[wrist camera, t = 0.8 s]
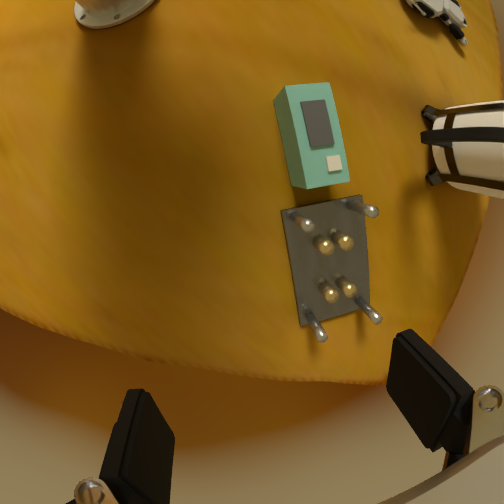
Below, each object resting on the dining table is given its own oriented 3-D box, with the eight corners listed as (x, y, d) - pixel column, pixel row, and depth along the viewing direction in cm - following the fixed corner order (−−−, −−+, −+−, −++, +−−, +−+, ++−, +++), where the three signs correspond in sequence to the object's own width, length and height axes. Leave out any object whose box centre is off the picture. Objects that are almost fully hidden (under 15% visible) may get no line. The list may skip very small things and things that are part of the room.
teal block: (272, 100, 28) (285, 85, 22) (310, 96, 28) (330, 81, 22) (291, 185, 31) (307, 189, 25) (327, 178, 31) (351, 181, 25)
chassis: (280, 210, 31) (293, 219, 26) (359, 194, 32) (384, 200, 26) (299, 323, 36) (312, 348, 30) (367, 303, 36) (387, 323, 31)
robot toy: (451, 8, 24) (390, -35, 21) (467, 3, 20) (404, -46, 17) (456, 53, 27) (391, 6, 24) (474, 48, 23) (409, -5, 20)
